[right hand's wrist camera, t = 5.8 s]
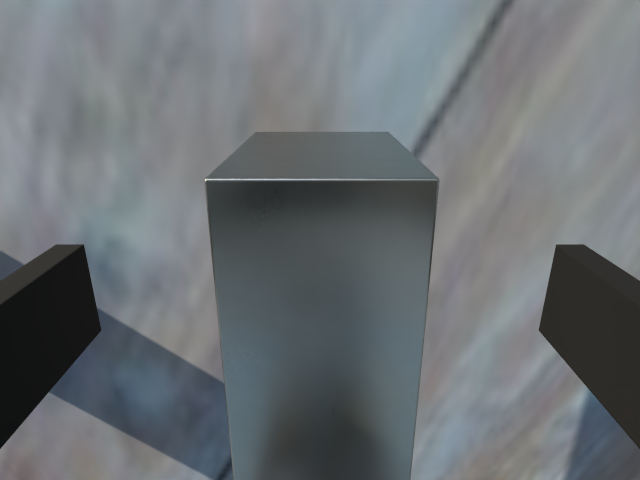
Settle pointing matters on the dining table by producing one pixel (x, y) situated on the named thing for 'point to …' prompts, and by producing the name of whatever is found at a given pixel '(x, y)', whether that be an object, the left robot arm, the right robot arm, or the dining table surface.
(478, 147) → the dining table surface
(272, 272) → the box
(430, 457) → the dining table surface
